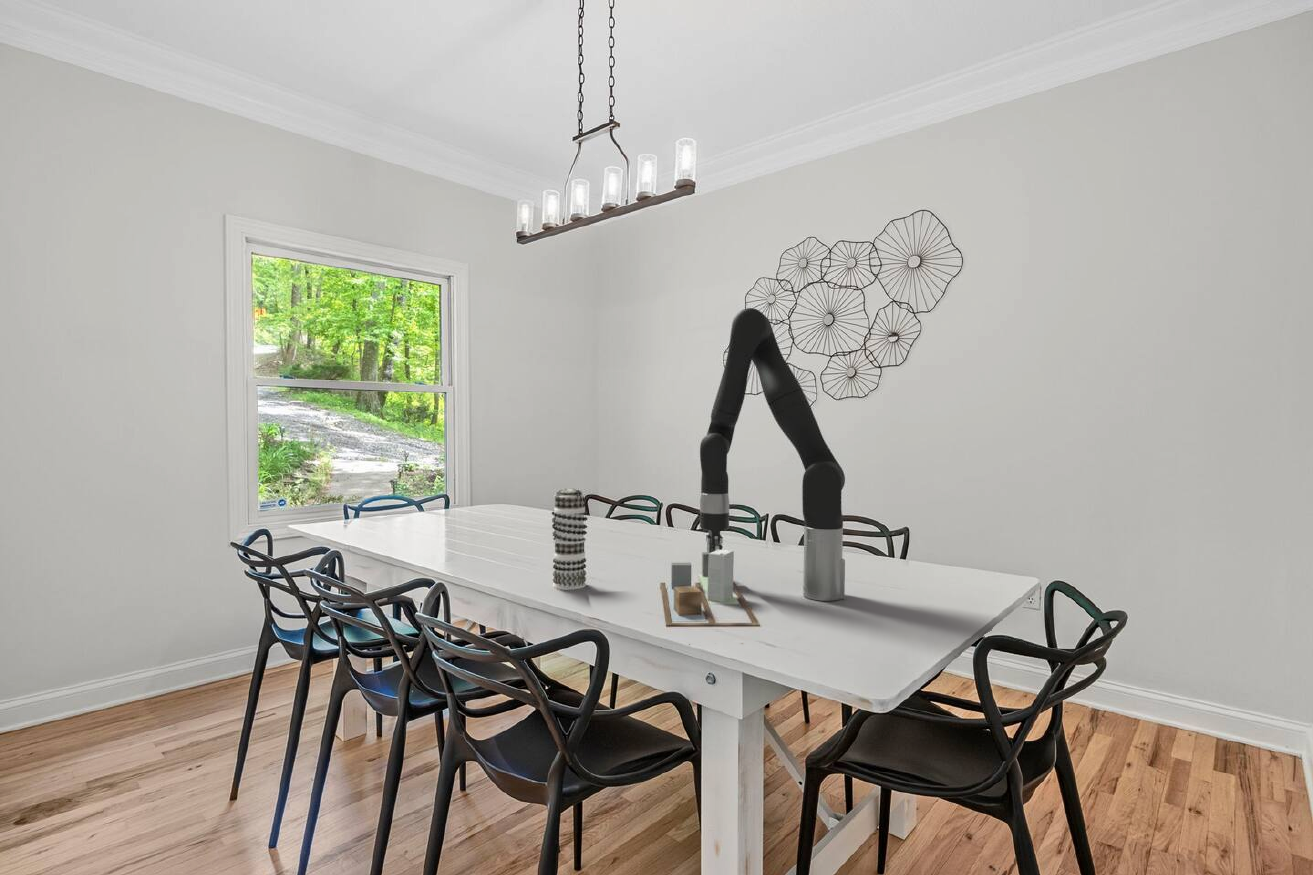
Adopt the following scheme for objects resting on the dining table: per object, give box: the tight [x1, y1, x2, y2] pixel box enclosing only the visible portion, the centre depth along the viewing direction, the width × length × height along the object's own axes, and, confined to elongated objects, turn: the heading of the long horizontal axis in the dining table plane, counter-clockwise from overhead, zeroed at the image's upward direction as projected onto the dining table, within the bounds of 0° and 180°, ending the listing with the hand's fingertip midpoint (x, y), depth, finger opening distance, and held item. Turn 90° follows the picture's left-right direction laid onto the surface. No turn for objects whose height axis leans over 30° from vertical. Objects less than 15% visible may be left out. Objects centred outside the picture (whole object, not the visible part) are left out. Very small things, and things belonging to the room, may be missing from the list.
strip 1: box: [666, 562, 707, 623], centre depth 157 cm, size 7×30×7 cm, turn 2°
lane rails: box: [659, 582, 761, 628], centre depth 156 cm, size 19×35×2 cm, turn 2°
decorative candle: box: [551, 488, 589, 591], centre depth 176 cm, size 9×9×25 cm
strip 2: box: [697, 551, 740, 605], centre depth 170 cm, size 7×30×7 cm, turn 2°
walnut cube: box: [674, 585, 703, 616], centre depth 149 cm, size 5×5×5 cm
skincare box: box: [706, 549, 735, 603], centre depth 160 cm, size 6×4×12 cm
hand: (713, 576), depth 176 cm, fingers closed
